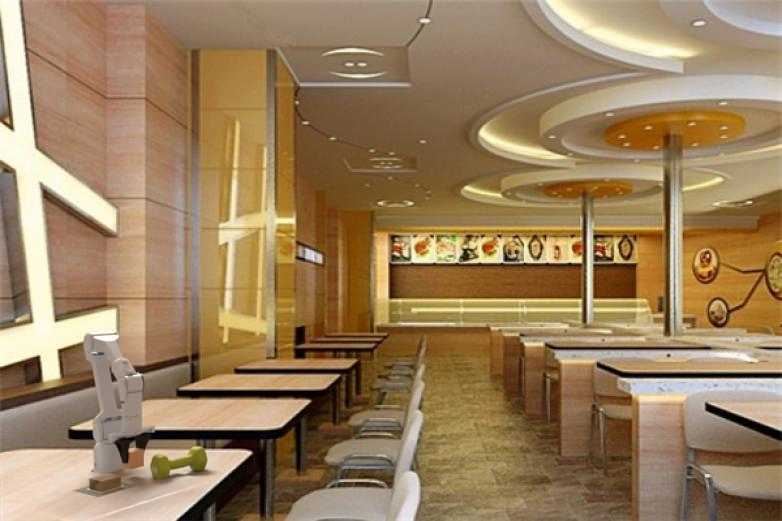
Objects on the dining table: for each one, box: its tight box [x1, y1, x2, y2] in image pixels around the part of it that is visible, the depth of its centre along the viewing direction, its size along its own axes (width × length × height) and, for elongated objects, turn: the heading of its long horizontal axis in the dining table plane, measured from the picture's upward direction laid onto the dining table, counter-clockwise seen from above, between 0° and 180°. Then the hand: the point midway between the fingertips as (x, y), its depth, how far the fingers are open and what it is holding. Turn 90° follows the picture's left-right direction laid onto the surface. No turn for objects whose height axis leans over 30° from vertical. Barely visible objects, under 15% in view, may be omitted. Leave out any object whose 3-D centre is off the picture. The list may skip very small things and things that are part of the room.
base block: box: [88, 472, 122, 492], centre depth 193 cm, size 6×6×3 cm
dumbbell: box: [149, 445, 208, 480], centre depth 207 cm, size 16×8×7 cm, turn 136°
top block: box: [122, 446, 145, 470], centre depth 203 cm, size 4×4×5 cm
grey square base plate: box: [73, 481, 138, 498], centre depth 192 cm, size 12×12×1 cm
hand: (132, 460), depth 204 cm, fingers closed on top block, 4 cm apart
